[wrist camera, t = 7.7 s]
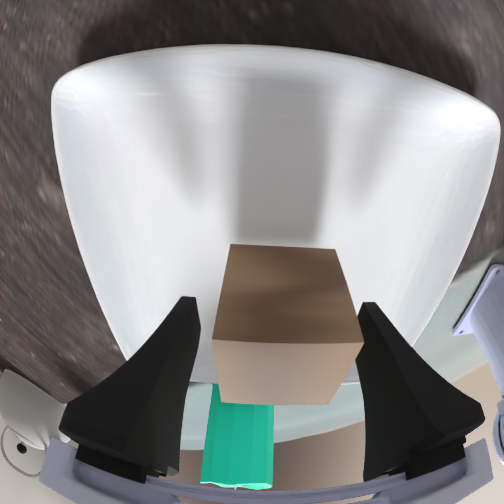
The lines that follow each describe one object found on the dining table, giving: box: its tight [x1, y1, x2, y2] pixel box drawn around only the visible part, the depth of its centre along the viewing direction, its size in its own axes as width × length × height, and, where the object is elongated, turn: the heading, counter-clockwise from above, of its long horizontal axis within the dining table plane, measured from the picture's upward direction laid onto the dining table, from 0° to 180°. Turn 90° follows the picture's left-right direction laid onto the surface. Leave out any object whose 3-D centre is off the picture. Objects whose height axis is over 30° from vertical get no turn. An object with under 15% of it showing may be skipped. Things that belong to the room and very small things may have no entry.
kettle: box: [0, 369, 70, 478], centre depth 33 cm, size 25×23×23 cm
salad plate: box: [51, 44, 500, 385], centre depth 14 cm, size 21×21×3 cm
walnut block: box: [212, 244, 364, 405], centre depth 11 cm, size 4×4×5 cm
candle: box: [200, 384, 274, 490], centre depth 20 cm, size 6×6×12 cm
